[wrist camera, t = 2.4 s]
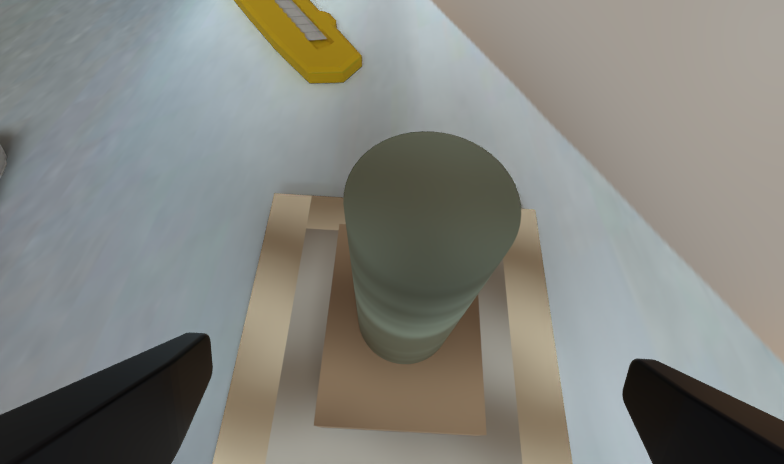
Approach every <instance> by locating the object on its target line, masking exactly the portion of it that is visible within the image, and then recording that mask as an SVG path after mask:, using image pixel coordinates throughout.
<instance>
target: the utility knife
mask: <svg viewBox="0 0 784 464" xmlns="http://www.w3.org/2000/svg"><path fill="white" fill-rule="evenodd" d="M234 1H235V2H236V4H237V5H238V6H239V7H240V8H241V10H242V11H243V12H244V13H245V15H246V16H247V17H248V18H249V20H250V21H251V22H252V23H253V24H254V25H255V27H256V28H257V29H258V30H259V31H260V32H261V33H262V35H263V36H264V37H265V38H266V39H267V40H268V42H269V43H270V44H271V45H272V46H273V48H274V49H275V50H276V51H277V52H278V53H279V54H280V55H281V56H282V57H283V58H284V59H285V60H286V61H287V62H288V63H289V64H290V65H291V66H292V67H293V68H294V69H295V70H296V71H298V72H299V73H300V74H301V75H302V76H303V77H304V78H305V79H306V80H307V81H308V82H309V83H338V82H345V81H346V80H347V79H348V78H349V77H350V76H351V75H352V74H354V73H355V72H356V71H357V70H358V69H359V68H360V67H362V57H361V54H360V53H359V52H358V51H357V50H356V49H355V48H354V47H353V46H352V45H351V43H350V42H349V41H348V40H347V39H346V38H345V37H344V36H343V35H342V34H341V33H340V31H339V30H338V29H337V26H336V20H335V19H334V18H333V17H332V16H331V15H330V14H329V13H327V12H323V11H319V10H318V9H317V8H316V7H315V6H314V5H313V3H312V2H311V1H310V0H234Z"/></svg>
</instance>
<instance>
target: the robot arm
mask: <svg viewBox="0 0 784 464" xmlns="http://www.w3.org/2000/svg"><path fill="white" fill-rule="evenodd" d="M212 369H213V366H212V354H211V342H210V338H209V336H208V335H207V334H205V333H185V334H183V335H181V336H179V337H176V338H174V339H172V340H170V341H167V342H165V343H163V344H160V345H158V346H156V347H154V348H151V349H149V350H147V351H145V352H142V353H140V354H138V355H136V356H133V357H131V358H129V359H126V360H124V361H122V362H120V363H117V364H115V365H113V366H111V367H108V368H106V369H104V370H102V371H99V372H97V373H95V374H92V375H90V376H88V377H86V378H83V379H81V380H79V381H77V382H74V383H72V384H70V385H68V386H65V387H63V388H61V389H58V390H56V391H54V392H52V393H49V394H47V395H45V396H43V397H40V398H38V399H36V400H33V401H31V402H29V403H27V404H24V405H22V406H20V407H18V408H15V409H13V410H11V411H9V412H6V413H4V414H2V415H0V464H171V463H172V461H173V459H174V458H175V456H176V454H177V452H178V450H179V448H180V446H181V444H182V442H183V440H184V438H185V436H186V433H187V431H188V429H189V427H190V424H191V422H192V420H193V417H194V415H195V413H196V411H197V408H198V406H199V404H200V402H201V399H202V397H203V395H204V393H205V390H206V388H207V386H208V383H209V381H210V379H211V375H212ZM623 400H624V403H625V406H626V408H627V410H628V412H629V414H630V416H631V419H632V421H633V423H634V425H635V427H636V429H637V431H638V433H639V436H640V438H641V440H642V442H643V444H644V446H645V448H646V451H647V453H648V455H649V457H650V459H651V461H652V463H653V464H784V421H782V420H780V419H778V418H776V417H774V416H772V415H770V414H768V413H766V412H764V411H761V410H759V409H757V408H755V407H753V406H751V405H749V404H747V403H745V402H743V401H740V400H738V399H736V398H734V397H732V396H730V395H728V394H726V393H724V392H722V391H720V390H717V389H715V388H713V387H711V386H709V385H707V384H705V383H703V382H701V381H699V380H696V379H694V378H692V377H690V376H688V375H686V374H684V373H682V372H680V371H678V370H675V369H673V368H671V367H669V366H667V365H665V364H663V363H661V362H659V361H656V360H652V359H634V360H633V361H632V362H631V364H630V366H629V370H628V373H627V377H626V380H625V384H624V387H623Z"/></svg>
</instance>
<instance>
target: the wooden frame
mask: <svg viewBox="0 0 784 464" xmlns="http://www.w3.org/2000/svg"><path fill="white" fill-rule="evenodd" d="M343 199H344V198H342V197H326V196H310V195H294V194H278V193H274V197H273V201H272V206H271V210H270V214H269V219H268V223H267V227H266V232H265V236H264V241H263V245H262V249H261V254H260V258H259V262H258V267H257V271H256V275H255V280H254V284H253V289H252V293H251V297H250V302H249V306H248V310H247V315H246V319H245V323H244V328H243V332H242V336H241V341H240V345H239V350H238V354H237V358H236V363H235V367H234V371H233V376H232V380H231V384H230V389H229V393H228V398H227V402H226V406H225V411H224V415H223V419H222V424H221V428H220V432H219V437H218V441H217V446H216V450H215V454H214V459H213V463H212V464H572V457H571V450H570V444H569V437H568V430H567V423H566V416H565V410H564V403H563V396H562V389H561V382H560V376H559V369H558V362H557V355H556V348H555V342H554V335H553V328H552V321H551V314H550V308H549V301H548V294H547V287H546V280H545V274H544V267H543V260H542V253H541V246H540V240H539V233H538V226H537V219H536V212H535V210H533V209H521V222H520V227H519V231H518V234H517V236H516V239H515V241H514V243H513V245H512V246H511V248H510V249H509V251H508V252H507V254H506V255H505V256H504V258H503V259H502V261H501V262H500V264H499V265H498V266H497V268H496V269H495V271H494V272H493V273H492V275H491V276H490V278H489V279H488V281H487V282H486V283H485V285H484V286H483V288H482V289H481V290H480V292H479V293H478V298H479V315H480V332H481V349H482V366H483V383H484V400H485V417H486V434H487V435H480V436H461V435H443V434H425V433H407V432H389V431H371V430H353V429H335V428H321V427H317V426H313V425H314V418H315V410H316V402H317V394H318V387H319V379H320V371H321V363H322V356H323V348H324V340H325V332H326V324H327V317H328V309H329V301H330V293H331V286H332V278H333V270H334V262H335V255H336V247H337V239H338V231H339V224H346V222H345V214H344V205H343Z"/></svg>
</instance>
